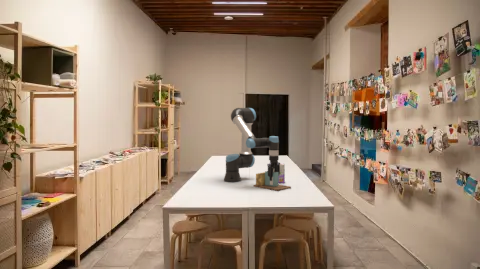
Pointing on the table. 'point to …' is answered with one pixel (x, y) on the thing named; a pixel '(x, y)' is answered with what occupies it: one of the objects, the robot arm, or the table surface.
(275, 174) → the stub
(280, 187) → the board
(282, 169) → the candy box
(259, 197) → the table surface
